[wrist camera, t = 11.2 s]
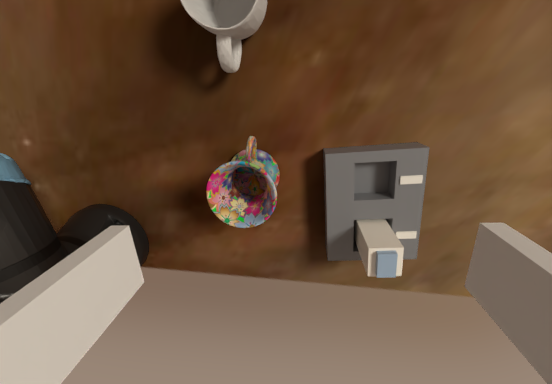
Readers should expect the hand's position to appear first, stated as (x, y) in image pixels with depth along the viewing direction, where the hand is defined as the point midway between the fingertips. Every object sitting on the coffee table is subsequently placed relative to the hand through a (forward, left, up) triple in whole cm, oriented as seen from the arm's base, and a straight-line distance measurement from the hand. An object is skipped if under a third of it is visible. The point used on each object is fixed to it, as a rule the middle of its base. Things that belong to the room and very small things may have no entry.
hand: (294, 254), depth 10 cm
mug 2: (-7, -5, -33) cm, 34 cm away
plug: (+10, -16, -32) cm, 37 cm away
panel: (+11, -12, -33) cm, 36 cm away
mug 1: (-7, +15, -33) cm, 37 cm away
